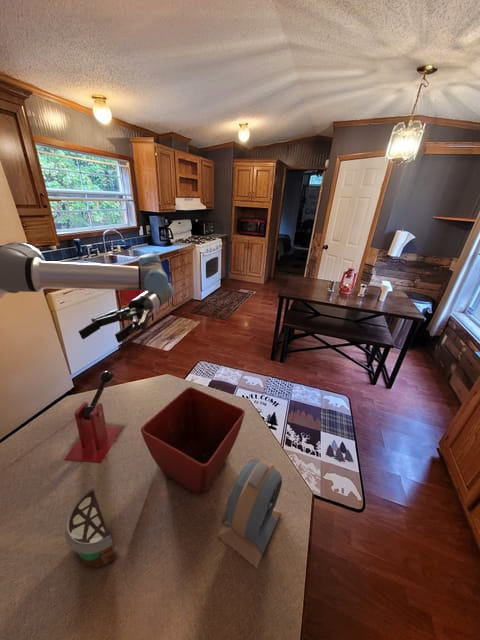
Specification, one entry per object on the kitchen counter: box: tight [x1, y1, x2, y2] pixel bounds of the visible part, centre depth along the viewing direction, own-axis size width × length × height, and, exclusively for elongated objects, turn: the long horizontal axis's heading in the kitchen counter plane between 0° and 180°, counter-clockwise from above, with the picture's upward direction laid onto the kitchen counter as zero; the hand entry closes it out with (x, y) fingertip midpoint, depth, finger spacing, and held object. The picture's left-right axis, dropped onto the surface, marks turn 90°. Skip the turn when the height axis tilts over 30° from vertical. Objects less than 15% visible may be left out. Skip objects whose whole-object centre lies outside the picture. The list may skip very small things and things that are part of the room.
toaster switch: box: [63, 401, 123, 464], centre depth 70 cm, size 12×10×14 cm
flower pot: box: [140, 386, 246, 497], centre depth 67 cm, size 19×19×17 cm
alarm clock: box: [217, 458, 283, 569], centre depth 54 cm, size 14×10×18 cm
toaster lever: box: [82, 370, 114, 420], centre depth 72 cm, size 14×4×4 cm, turn 177°
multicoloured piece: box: [65, 486, 116, 569], centre depth 49 cm, size 12×6×10 cm, turn 42°
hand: (98, 337), depth 73 cm, fingers open, 13 cm apart
